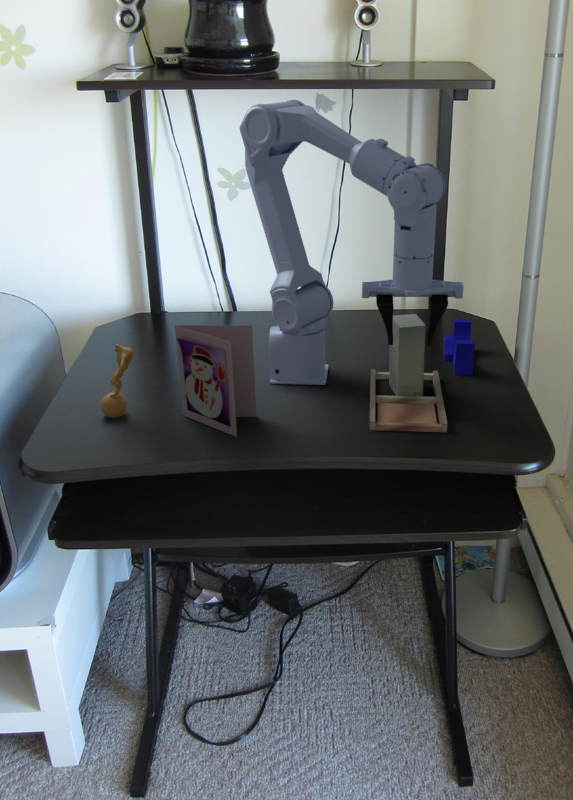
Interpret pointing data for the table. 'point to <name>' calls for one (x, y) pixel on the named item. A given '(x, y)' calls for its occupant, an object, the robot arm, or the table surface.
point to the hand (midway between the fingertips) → (409, 342)
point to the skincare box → (407, 355)
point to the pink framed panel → (407, 408)
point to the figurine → (117, 385)
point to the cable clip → (460, 347)
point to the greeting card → (216, 374)
